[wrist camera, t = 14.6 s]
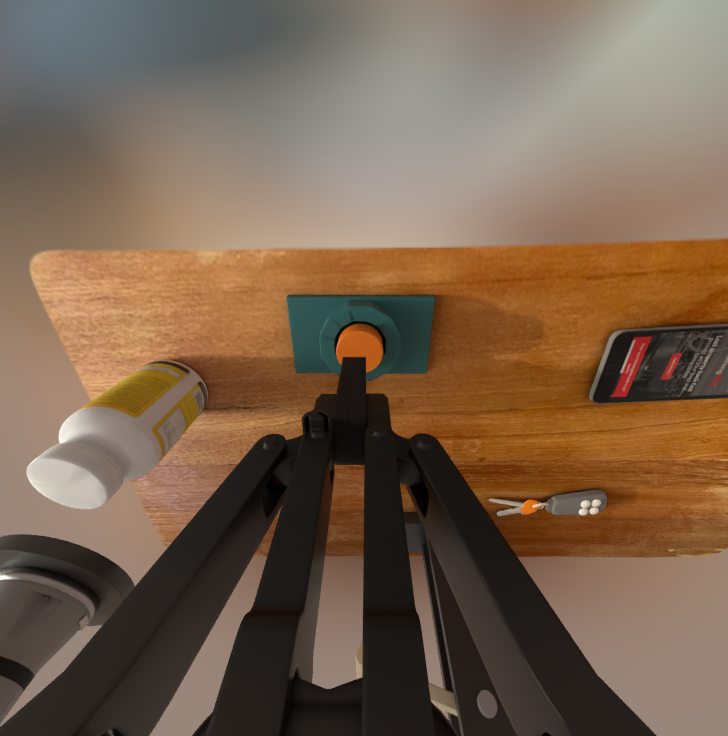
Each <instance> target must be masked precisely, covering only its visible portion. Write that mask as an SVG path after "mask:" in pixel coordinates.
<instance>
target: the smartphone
mask: <svg viewBox="0 0 728 736" xmlns="http://www.w3.org/2000/svg"><path fill="white" fill-rule="evenodd" d="M717 398H728V324H710V325H692V326H674V327H655V328H637V329H620V330H617V331H615V332H614V333H613V334H612V335H611V336H610V338H609V340H608V343H607V346H606V349H605V351H604V354H603V357H602V360H601V362H600V365H599V368H598V371H597V374H596V376H595V379H594V382H593V385H592V388H591V390H590V393H589V399H590V400H591V401H593V402H594V403H597V404H603V403H626V402H648V401H671V400H694V399H717Z"/></svg>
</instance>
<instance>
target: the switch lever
mask: <svg viewBox="0 0 728 736" xmlns="http://www.w3.org/2000/svg"><path fill="white" fill-rule="evenodd" d="M362 666H363V644H361V645H359V646H358V648H357V650H356V678H357V679H359V678H362ZM429 690H430V698H431V702H432V703H433V704H434V705H435V706H436V707H437V708H440V709H442V710H444V711H446V712H449V713H451V714H453V715H456V716H458V715H457V709H456V704H455V698H454V693H452V692H450V691H448V690H445V689H442V688H440V687H438V686H435V685H433V684H430V683H429Z"/></svg>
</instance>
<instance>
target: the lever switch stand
mask: <svg viewBox="0 0 728 736" xmlns="http://www.w3.org/2000/svg"><path fill="white" fill-rule="evenodd" d="M404 521H405V529H406V537H407V546H408V552H422V554H423V560H424V566H425V572H426V579H427V585H428V592H429V598H430V604H431V611H432V617H433V623H434V630H435V636H436V642H437V648H438V654H439V661H440V667H441V674H442V680H443V686H444V689H445V690H448V691H450V692H452V693H454V698H455V704H456V709H457V715H458V716H456V715H453V714H451V713H449V712H448V718H449V722H450V723H451V725H452V726H453V728H454V729H455V731H456V732H457V734H458V735H459V736H517V734H516V732H515V730H514V728H513V726H512V724H511V722H510V720H509V718H508V716H507V714H506V712H505V710H504V708H503V705H502V703H501V701H500V699H499V697H498V694H497V692H496V690H495V688H494V685H493V683H492V681H491V679H490V676H489V674H488V672H487V669H486V667H485V665H484V663H483V660H482V658H481V656H480V654H479V651H478V649H477V647H476V644H475V642H474V640H473V638H472V635H471V633H470V631H469V629H468V626H467V624H466V622H465V619H464V617H463V615H462V613H461V610H460V608H459V606H458V604H457V601H456V599H455V597H454V595H453V592H452V590H451V588H450V585H449V583H448V581H447V579H446V576H445V574H444V572H443V570H442V567H441V565H440V563H439V560H438V558H437V556H436V554H435V551H434V549H433V547H432V545H431V542H430V540H429V538H428V535H427V533H426V531H425V529H424V526H423V524H422V522H421V520H420V517H419V515H418V513H404Z"/></svg>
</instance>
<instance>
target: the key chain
mask: <svg viewBox="0 0 728 736" xmlns="http://www.w3.org/2000/svg"><path fill="white" fill-rule="evenodd" d="M489 501H492V502H496V503H500V504H507V505H511V506H519V508H518V507H516V508H514V509H512V508H511V509H510V508H509V510H507V509H506V510H505V511H499V512H497V515H498V516H504V515H509V514H514V513H521V514H523V515H528V514H530V513H533V512H535V511H536V510H537V509H542V508H543V507H544V506H546V508H545V509H546V510H547V512H548V513H551V512H552V513H553V514H554V515H574V514H580V515H586V514H597V513H598V512H602V511H603V510H604V508H605V506H606V502H607V496H606V494H605V493H604V492H603V491H602V490H589V491H582V492H575V493H568V494H562V495H556V496H553V497H551V499H548V501H547V502H546V503H540V502H537V501H536V500H527V501H526V502H524V503H520V502H512V501H508V500H500V499H493V498H490V499H489ZM538 507H541V508H538Z"/></svg>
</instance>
